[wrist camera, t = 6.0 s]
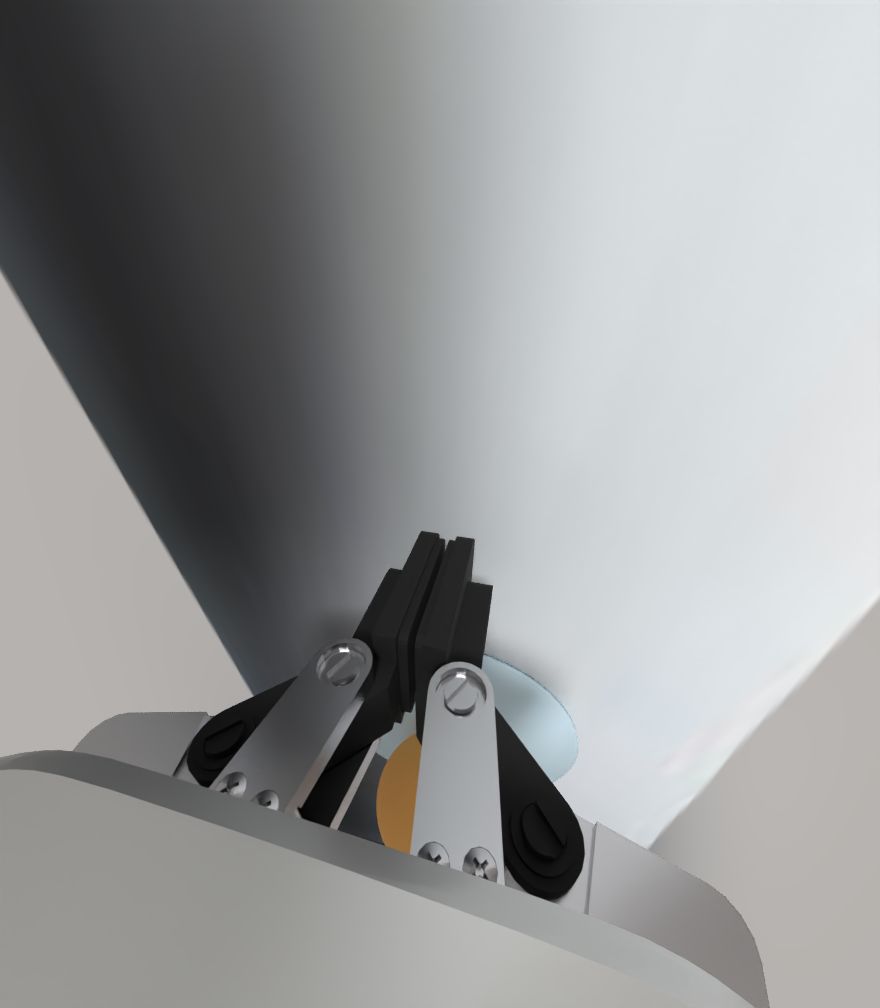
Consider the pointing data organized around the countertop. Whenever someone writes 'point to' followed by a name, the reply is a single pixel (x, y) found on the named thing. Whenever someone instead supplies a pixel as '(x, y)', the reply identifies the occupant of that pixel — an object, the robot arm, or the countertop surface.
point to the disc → (516, 719)
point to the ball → (399, 795)
